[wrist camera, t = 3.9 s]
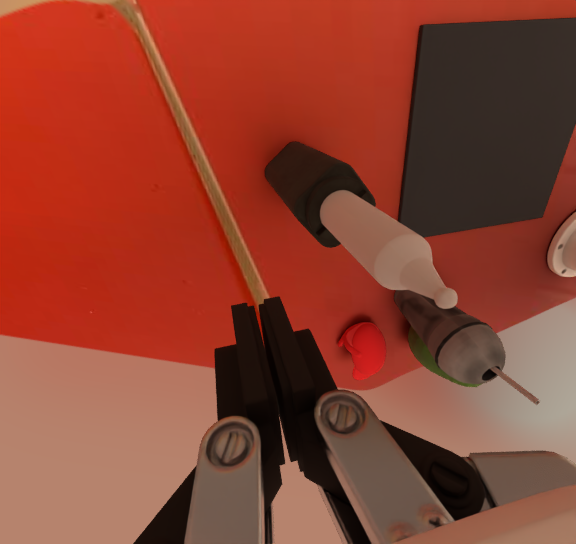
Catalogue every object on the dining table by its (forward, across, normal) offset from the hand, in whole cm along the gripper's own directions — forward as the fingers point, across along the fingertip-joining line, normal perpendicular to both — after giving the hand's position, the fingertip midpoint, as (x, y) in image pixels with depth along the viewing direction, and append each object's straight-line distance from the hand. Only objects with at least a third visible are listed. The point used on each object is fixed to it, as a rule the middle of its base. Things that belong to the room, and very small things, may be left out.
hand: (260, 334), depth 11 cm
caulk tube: (+25, -8, 0) cm, 26 cm away
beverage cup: (+24, -24, +19) cm, 39 cm away
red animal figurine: (+24, -16, +25) cm, 38 cm away
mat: (+24, -32, -1) cm, 40 cm away
